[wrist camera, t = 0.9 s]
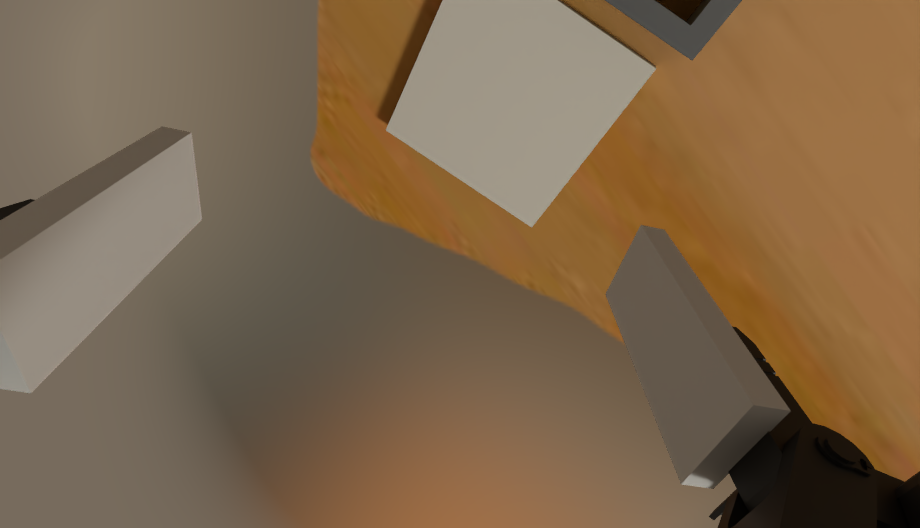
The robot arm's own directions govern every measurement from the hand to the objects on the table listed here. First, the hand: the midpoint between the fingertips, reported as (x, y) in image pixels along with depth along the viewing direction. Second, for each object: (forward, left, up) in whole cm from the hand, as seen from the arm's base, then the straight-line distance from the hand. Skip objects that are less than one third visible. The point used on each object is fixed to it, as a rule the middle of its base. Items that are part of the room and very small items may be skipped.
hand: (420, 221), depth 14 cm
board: (+4, -2, -27) cm, 28 cm away
